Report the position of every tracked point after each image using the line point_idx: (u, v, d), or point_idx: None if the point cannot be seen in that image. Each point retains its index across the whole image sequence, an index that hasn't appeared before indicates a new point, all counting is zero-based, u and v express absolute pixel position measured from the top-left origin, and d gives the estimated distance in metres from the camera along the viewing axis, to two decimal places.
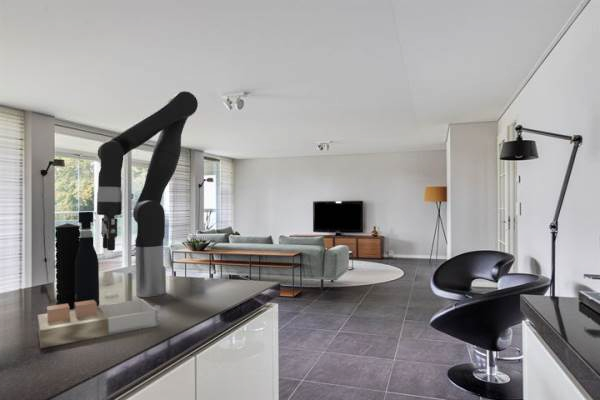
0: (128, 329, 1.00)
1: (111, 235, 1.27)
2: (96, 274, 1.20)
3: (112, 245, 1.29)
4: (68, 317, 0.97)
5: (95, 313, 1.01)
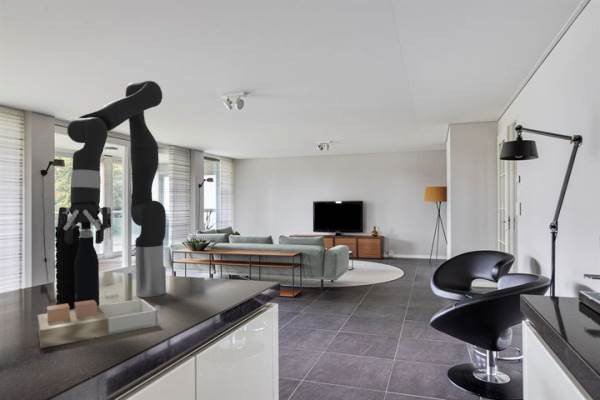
0: (128, 329, 1.00)
1: (107, 226, 1.13)
2: (96, 274, 1.19)
3: (102, 237, 1.14)
4: (68, 317, 0.97)
5: (95, 313, 1.01)
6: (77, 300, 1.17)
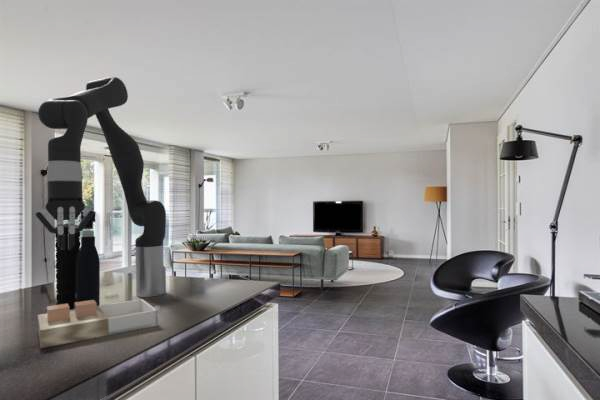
0: (128, 329, 1.00)
1: (81, 230, 1.01)
2: (97, 273, 1.20)
3: None
4: (68, 317, 0.97)
5: (95, 313, 1.01)
6: (77, 299, 1.18)
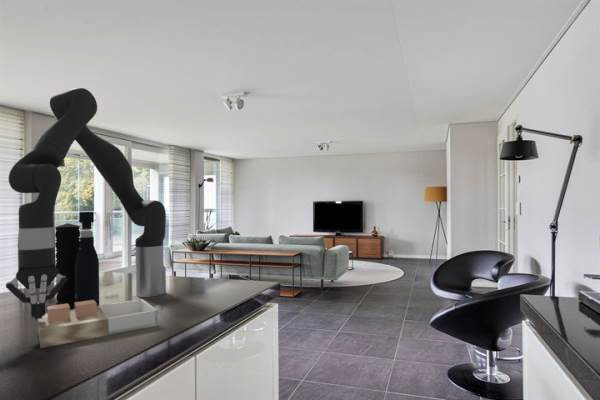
0: (128, 329, 1.00)
1: None
2: (96, 274, 1.20)
3: (44, 310, 0.97)
4: (68, 317, 0.98)
5: (95, 313, 1.01)
6: (77, 300, 1.18)
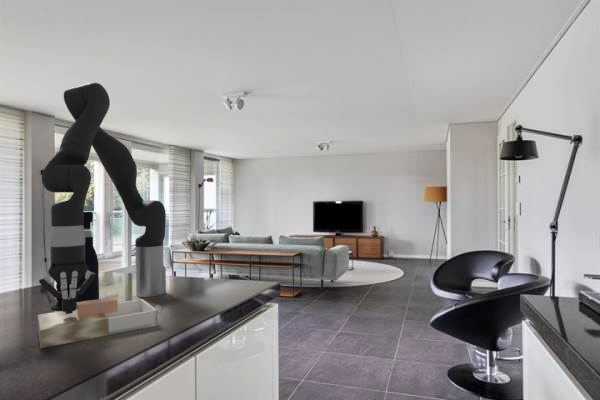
0: (128, 329, 1.00)
1: None
2: (96, 274, 1.20)
3: None
4: (97, 313, 1.01)
5: (116, 310, 1.04)
6: (77, 300, 1.18)
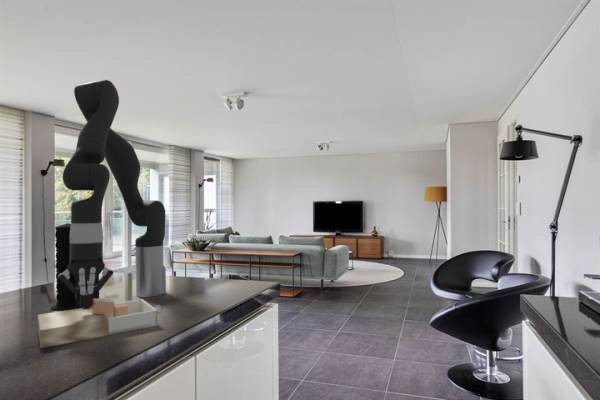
0: (128, 329, 1.00)
1: None
2: None
3: None
4: (111, 312, 1.03)
5: None
6: (77, 300, 1.18)
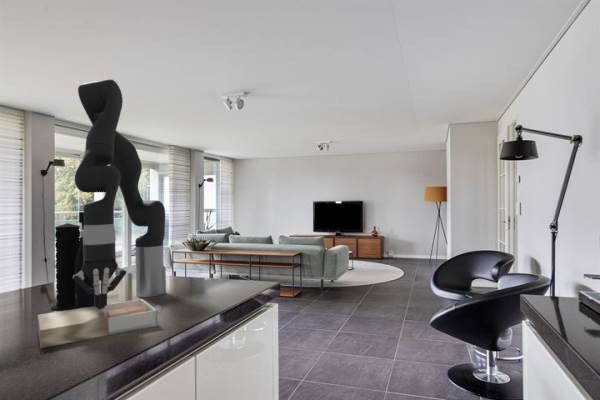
0: (128, 329, 1.00)
1: None
2: None
3: None
4: None
5: (129, 312, 1.05)
6: (77, 300, 1.18)
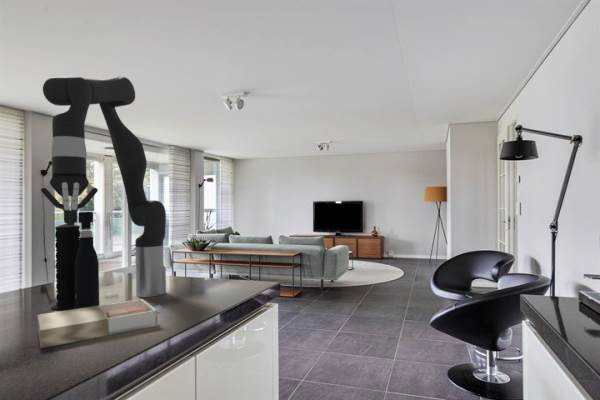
0: (128, 329, 1.00)
1: None
2: (96, 274, 1.20)
3: None
4: None
5: (129, 312, 1.05)
6: (77, 300, 1.18)
